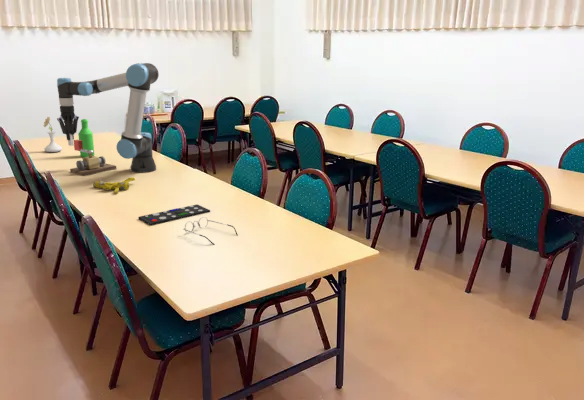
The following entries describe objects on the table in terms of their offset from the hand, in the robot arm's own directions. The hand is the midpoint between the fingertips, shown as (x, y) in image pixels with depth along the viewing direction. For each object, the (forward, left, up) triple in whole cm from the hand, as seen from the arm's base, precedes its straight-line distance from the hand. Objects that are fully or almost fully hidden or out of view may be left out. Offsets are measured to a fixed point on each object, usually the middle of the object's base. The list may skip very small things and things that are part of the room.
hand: (71, 145), depth 298 cm
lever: (-5, -5, -4) cm, 8 cm away
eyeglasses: (-138, +31, -16) cm, 142 cm away
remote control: (-109, +22, -16) cm, 112 cm away
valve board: (-10, -7, -15) cm, 19 cm away
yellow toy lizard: (-50, +10, -16) cm, 53 cm away
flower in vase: (+57, -23, -15) cm, 64 cm away
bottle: (+27, -29, -15) cm, 43 cm away
